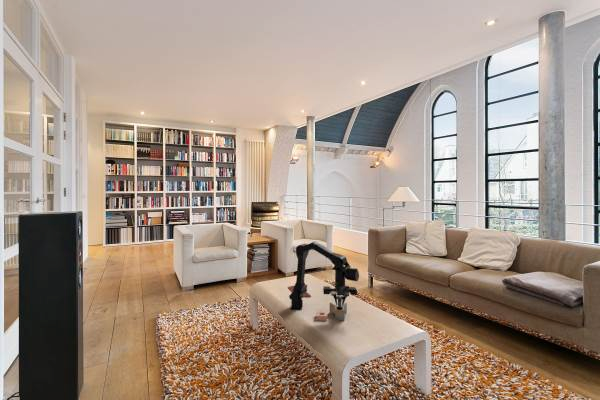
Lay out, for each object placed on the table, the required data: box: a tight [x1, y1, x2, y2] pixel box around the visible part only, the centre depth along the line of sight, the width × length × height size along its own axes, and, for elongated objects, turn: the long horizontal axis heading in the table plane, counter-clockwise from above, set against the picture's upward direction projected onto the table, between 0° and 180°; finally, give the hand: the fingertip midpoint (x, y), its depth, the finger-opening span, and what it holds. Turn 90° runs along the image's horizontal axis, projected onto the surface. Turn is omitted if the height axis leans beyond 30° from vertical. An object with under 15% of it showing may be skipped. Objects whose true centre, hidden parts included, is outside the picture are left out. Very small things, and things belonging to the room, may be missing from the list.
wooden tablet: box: [287, 285, 312, 299], centre depth 218 cm, size 27×10×2 cm, turn 21°
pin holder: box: [315, 311, 328, 321], centre depth 173 cm, size 6×6×2 cm
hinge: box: [329, 302, 348, 322], centre depth 176 cm, size 10×11×6 cm
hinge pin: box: [336, 295, 343, 309], centre depth 173 cm, size 4×4×8 cm
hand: (339, 305), depth 173 cm, fingers closed on hinge pin, 3 cm apart
